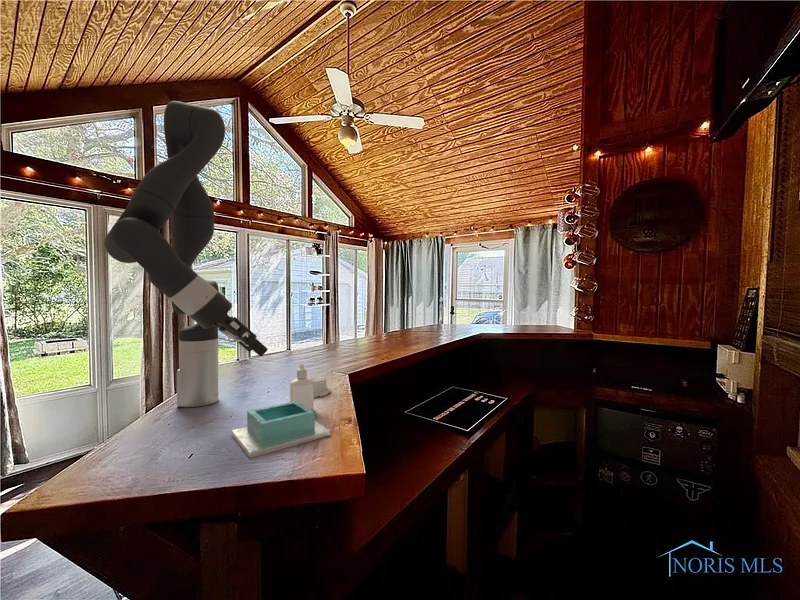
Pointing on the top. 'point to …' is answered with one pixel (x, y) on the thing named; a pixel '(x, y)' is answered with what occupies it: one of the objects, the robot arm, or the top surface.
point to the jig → (278, 428)
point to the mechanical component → (319, 386)
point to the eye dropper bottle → (302, 388)
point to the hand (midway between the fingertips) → (258, 350)
